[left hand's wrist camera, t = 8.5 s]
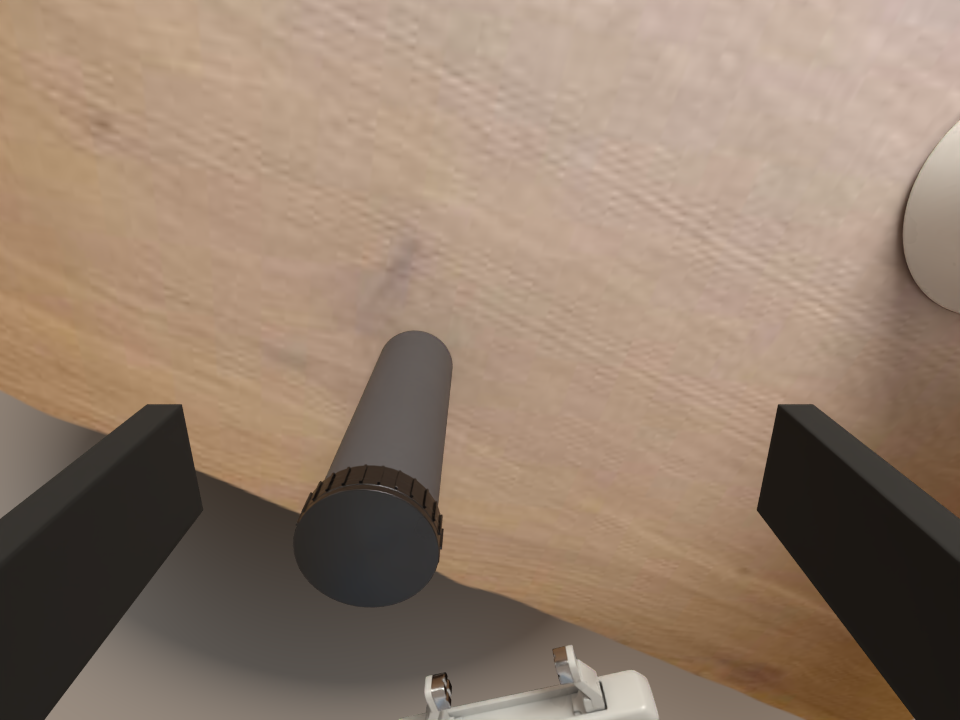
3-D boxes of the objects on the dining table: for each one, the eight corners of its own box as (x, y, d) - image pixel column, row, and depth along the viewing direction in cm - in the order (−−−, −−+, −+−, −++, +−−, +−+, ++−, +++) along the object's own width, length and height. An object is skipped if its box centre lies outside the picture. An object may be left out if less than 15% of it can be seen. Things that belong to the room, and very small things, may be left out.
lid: (301, 458, 22) (287, 482, 20) (448, 468, 22) (445, 493, 21) (305, 574, 24) (293, 604, 22) (439, 582, 24) (436, 613, 23)
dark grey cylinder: (380, 327, 38) (301, 483, 21) (454, 333, 38) (437, 493, 21) (378, 395, 40) (304, 590, 23) (449, 400, 40) (430, 598, 23)
